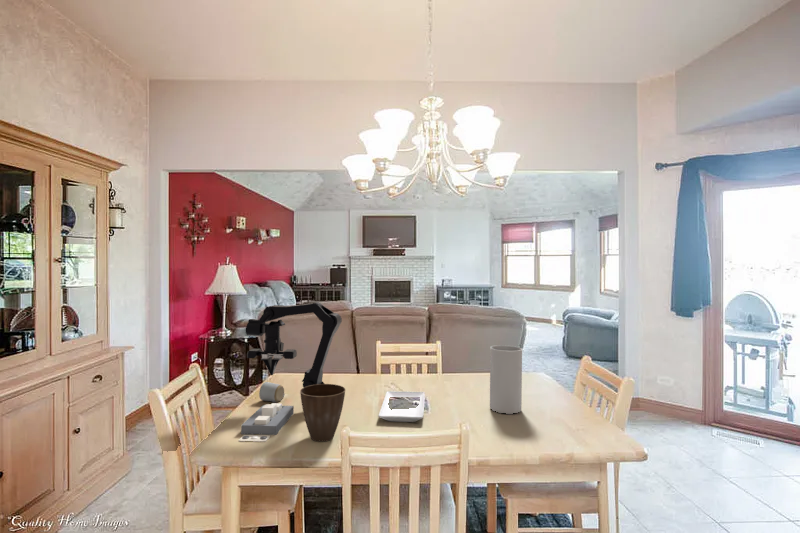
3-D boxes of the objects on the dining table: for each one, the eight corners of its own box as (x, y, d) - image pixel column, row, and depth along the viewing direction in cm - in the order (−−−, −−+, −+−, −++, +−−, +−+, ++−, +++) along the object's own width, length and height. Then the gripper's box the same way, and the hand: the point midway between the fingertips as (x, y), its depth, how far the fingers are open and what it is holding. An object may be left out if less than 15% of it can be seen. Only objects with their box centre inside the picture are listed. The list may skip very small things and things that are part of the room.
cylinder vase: (526, 409, 171) (527, 348, 171) (511, 417, 162) (512, 352, 162) (499, 402, 180) (500, 344, 180) (483, 409, 170) (484, 348, 171)
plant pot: (307, 427, 149) (308, 382, 149) (349, 430, 147) (349, 384, 147) (292, 445, 134) (293, 395, 134) (338, 448, 132) (339, 397, 133)
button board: (293, 413, 163) (293, 405, 163) (276, 435, 142) (276, 426, 142) (262, 412, 163) (263, 405, 163) (241, 434, 142) (241, 425, 142)
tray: (377, 424, 154) (377, 415, 154) (386, 398, 185) (386, 390, 185) (423, 426, 152) (423, 416, 152) (425, 399, 184) (425, 391, 184)
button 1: (269, 427, 148) (270, 416, 148) (265, 431, 144) (266, 420, 144) (258, 427, 148) (258, 415, 148) (254, 431, 144) (254, 419, 144)
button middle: (276, 415, 155) (276, 404, 155) (272, 419, 151) (272, 408, 151) (265, 415, 155) (265, 404, 155) (261, 418, 151) (261, 407, 151)
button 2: (282, 413, 162) (282, 403, 162) (278, 417, 158) (279, 406, 158) (271, 413, 162) (272, 403, 162) (268, 417, 158) (268, 406, 158)
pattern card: (270, 436, 141) (270, 434, 141) (265, 441, 136) (265, 440, 136) (244, 435, 141) (244, 434, 141) (238, 441, 137) (238, 439, 137)
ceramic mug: (275, 404, 174) (276, 385, 174) (258, 402, 176) (259, 384, 176) (289, 397, 184) (289, 379, 184) (272, 395, 186) (273, 378, 186)
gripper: (300, 333, 178) (300, 370, 178) (257, 333, 179) (256, 369, 179) (293, 338, 167) (292, 377, 167) (246, 337, 168) (246, 376, 168)
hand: (271, 374), depth 170 cm, fingers closed
